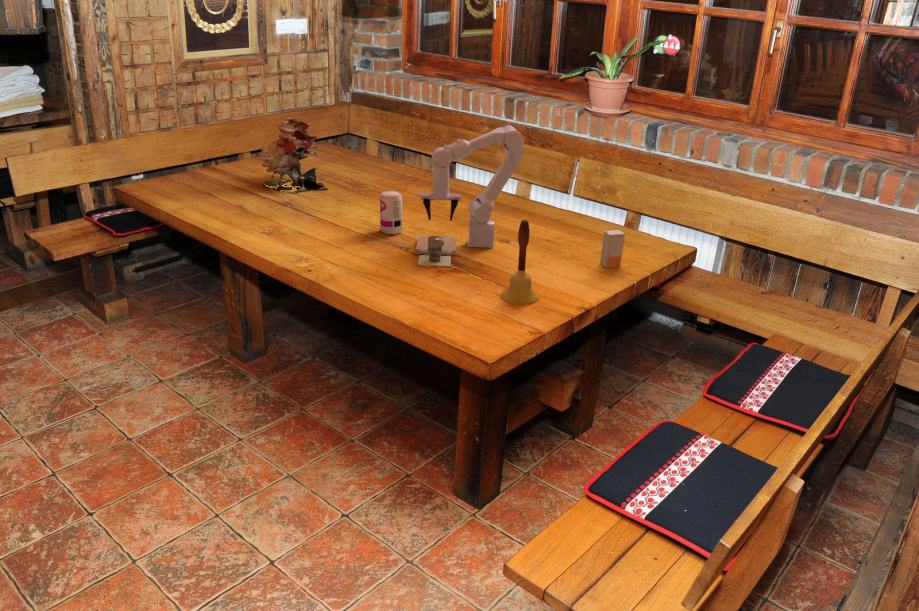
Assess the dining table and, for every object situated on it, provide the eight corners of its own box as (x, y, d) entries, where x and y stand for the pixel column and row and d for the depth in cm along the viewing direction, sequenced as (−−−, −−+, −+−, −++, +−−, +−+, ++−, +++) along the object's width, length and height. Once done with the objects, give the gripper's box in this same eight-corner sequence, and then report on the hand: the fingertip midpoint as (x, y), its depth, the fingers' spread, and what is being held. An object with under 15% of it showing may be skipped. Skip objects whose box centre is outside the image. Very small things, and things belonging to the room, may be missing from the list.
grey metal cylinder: (441, 257, 268) (442, 236, 265) (441, 262, 264) (441, 240, 260) (428, 257, 268) (428, 235, 265) (427, 262, 264) (427, 240, 260)
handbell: (534, 288, 248) (539, 213, 237) (543, 304, 237) (550, 227, 226) (496, 289, 246) (500, 214, 235) (504, 305, 235) (508, 228, 224)
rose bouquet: (301, 174, 361) (297, 109, 348) (334, 189, 341) (332, 120, 328) (250, 182, 346) (245, 115, 333) (282, 198, 326) (277, 127, 313)
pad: (451, 257, 270) (451, 256, 270) (450, 267, 262) (450, 265, 262) (419, 256, 270) (419, 254, 270) (417, 265, 262) (417, 264, 262)
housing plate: (456, 242, 284) (456, 237, 283) (455, 256, 271) (455, 250, 270) (418, 240, 284) (418, 235, 283) (415, 254, 271) (415, 249, 271)
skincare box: (605, 267, 265) (609, 234, 260) (599, 263, 269) (603, 230, 264) (621, 266, 267) (625, 233, 262) (615, 261, 271) (619, 229, 266)
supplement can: (382, 235, 288) (382, 197, 281) (378, 228, 295) (378, 190, 289) (404, 234, 290) (404, 196, 283) (399, 227, 297) (399, 189, 291)
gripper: (419, 185, 267) (419, 222, 273) (461, 186, 267) (460, 223, 272) (420, 179, 273) (420, 216, 279) (461, 180, 273) (460, 217, 279)
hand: (440, 219), depth 276 cm, fingers open, 7 cm apart
